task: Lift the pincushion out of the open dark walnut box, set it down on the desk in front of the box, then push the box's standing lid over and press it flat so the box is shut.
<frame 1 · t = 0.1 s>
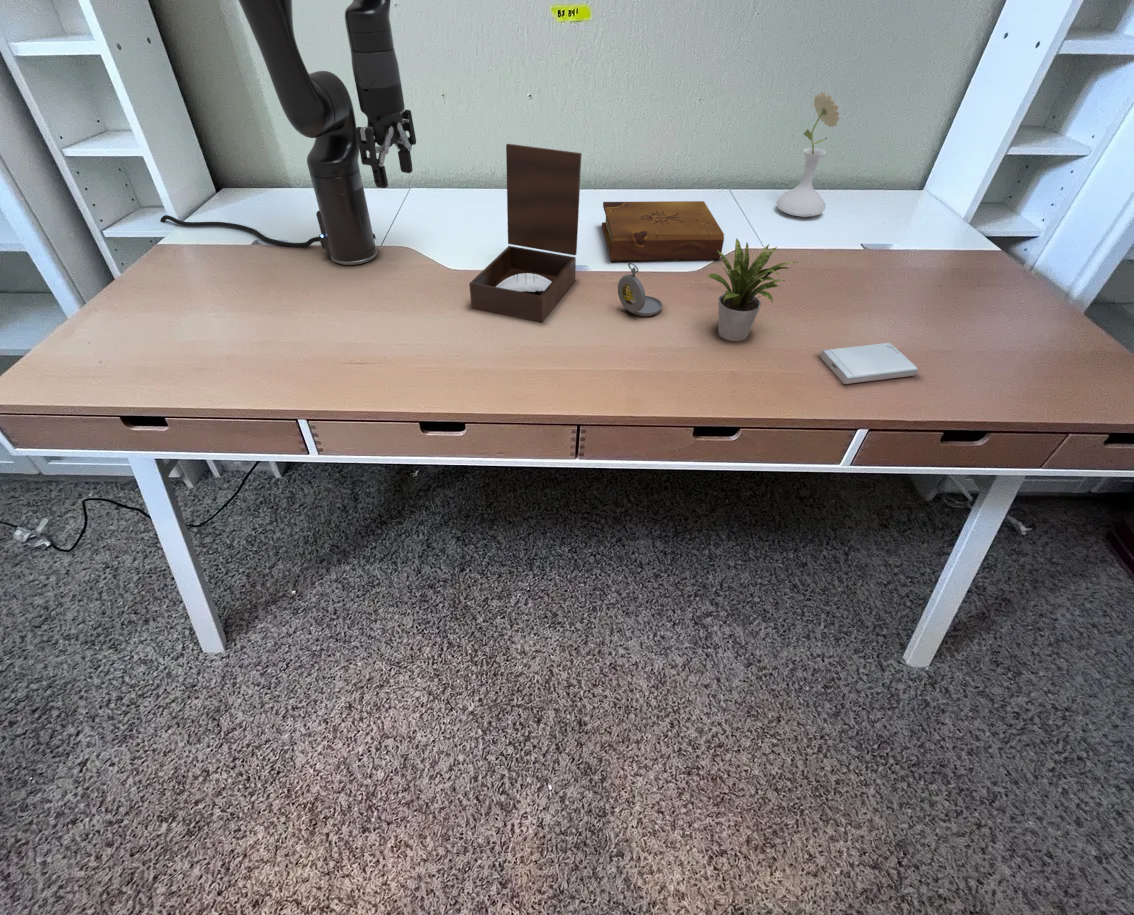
hand: (394, 179, 116), 17 cm above the table, tool pointing down, fingers open, 8 cm apart
house plant: (733, 338, 109), on the table
diary: (658, 244, 137), on the table
hard drive: (865, 367, 103), on the table
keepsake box: (525, 294, 120), on the table
pocket watch: (638, 311, 116), on the table
pincushion: (525, 292, 120), resting on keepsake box
flower in vase: (797, 211, 152), on the table
lid: (542, 201, 117), point 14 cm above the table, hinge at 95.0°
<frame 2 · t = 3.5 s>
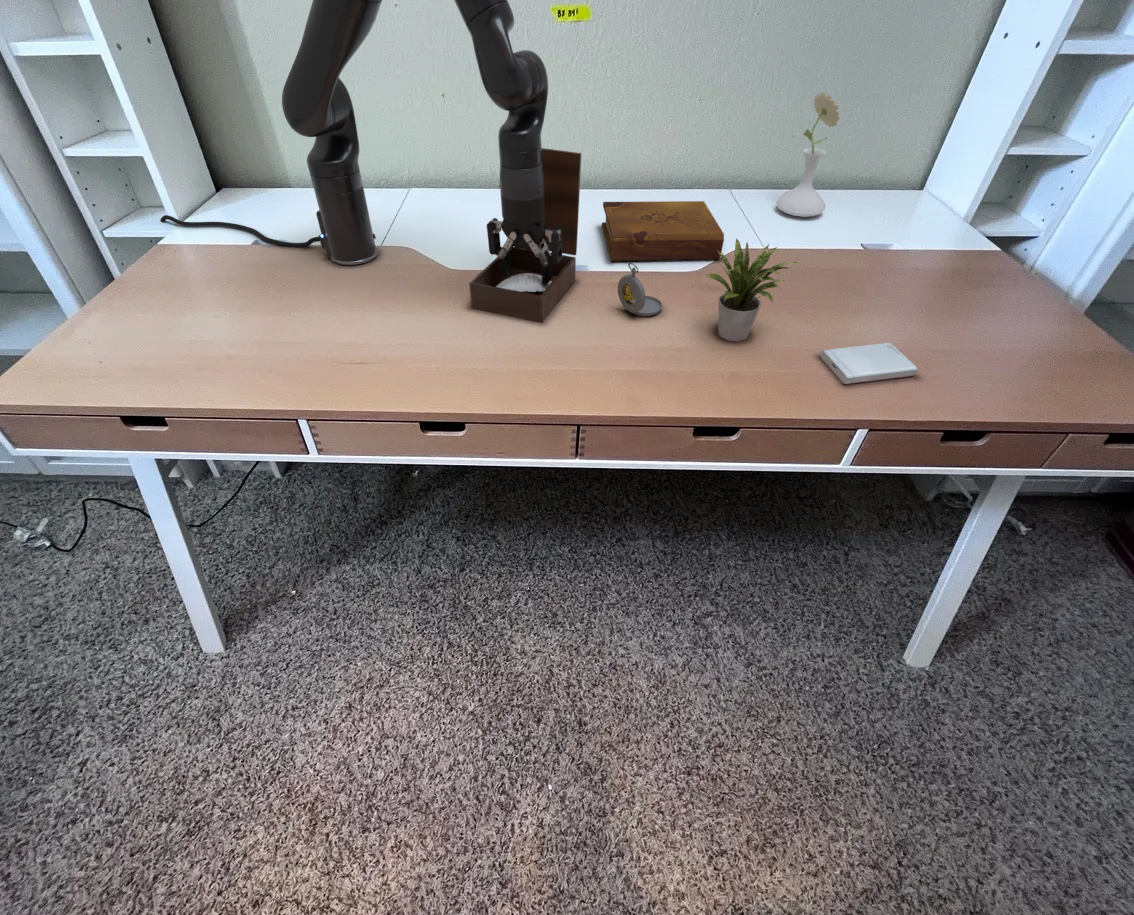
hand: (526, 279, 118), 3 cm above the table, tool pointing down, fingers open, 7 cm apart
pincushion: (525, 292, 120), resting on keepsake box, touching gripper
everything else where it was.
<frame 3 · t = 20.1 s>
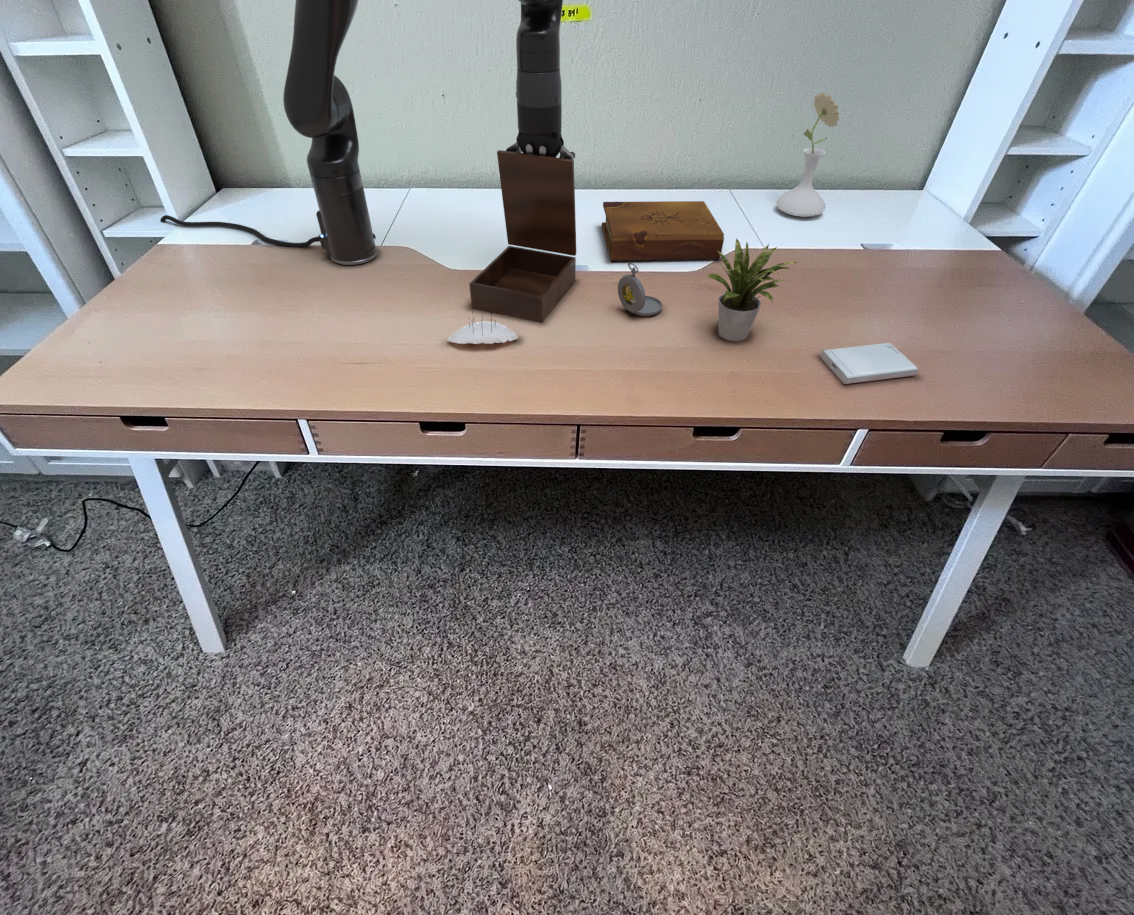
hand: (541, 203, 116), 14 cm above the table, tool pointing down, fingers closed
pincushion: (483, 342, 107), on the table
lid: (538, 205, 115), point 14 cm above the table, hinge at 82.4°, touching gripper
everything else where it was.
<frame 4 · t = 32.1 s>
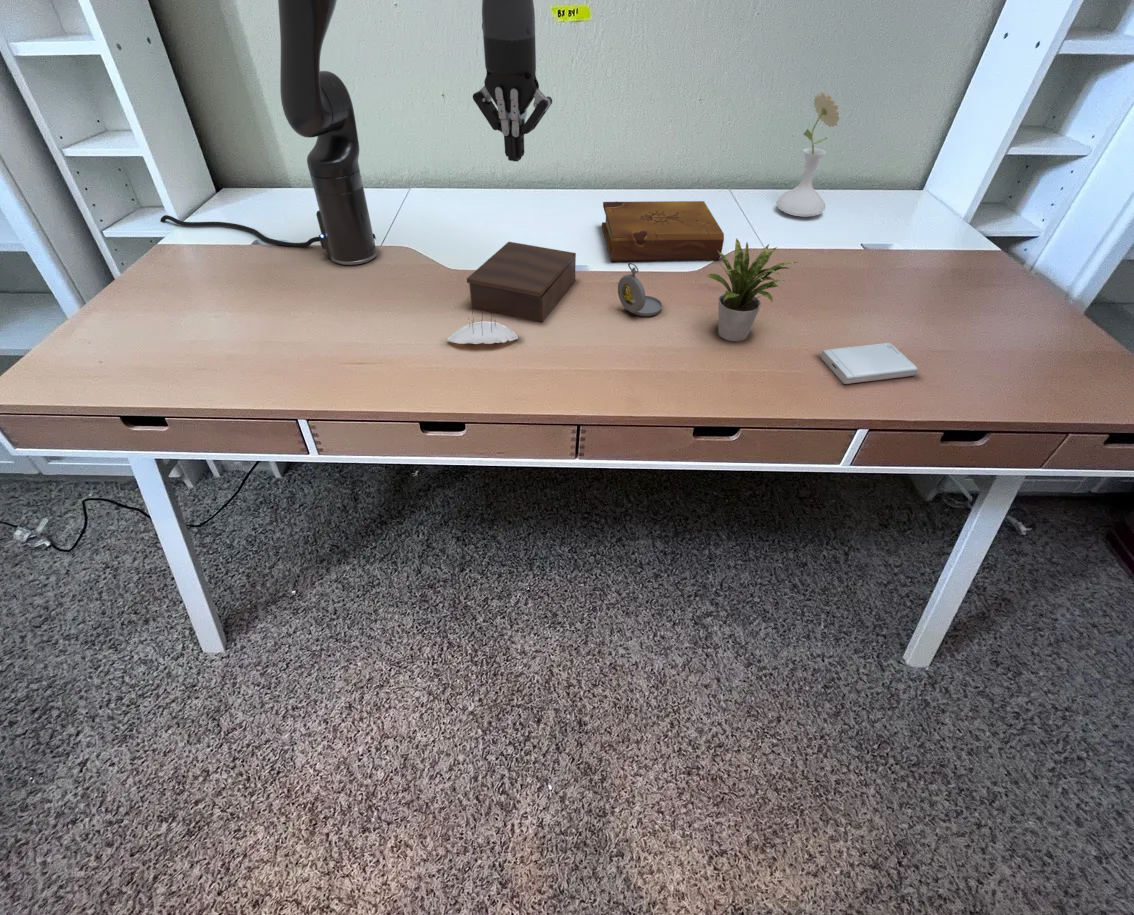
hand: (514, 159, 102), 25 cm above the table, tool pointing down, fingers closed
lid: (523, 267, 116), point 6 cm above the table, hinge at 1.4°
everything else where it was.
at the end: pincushion inside the target area (0.4 cm from its centre), on the table; pincushion tilted 0°; lid at +1° (first picture: +95°) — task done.
